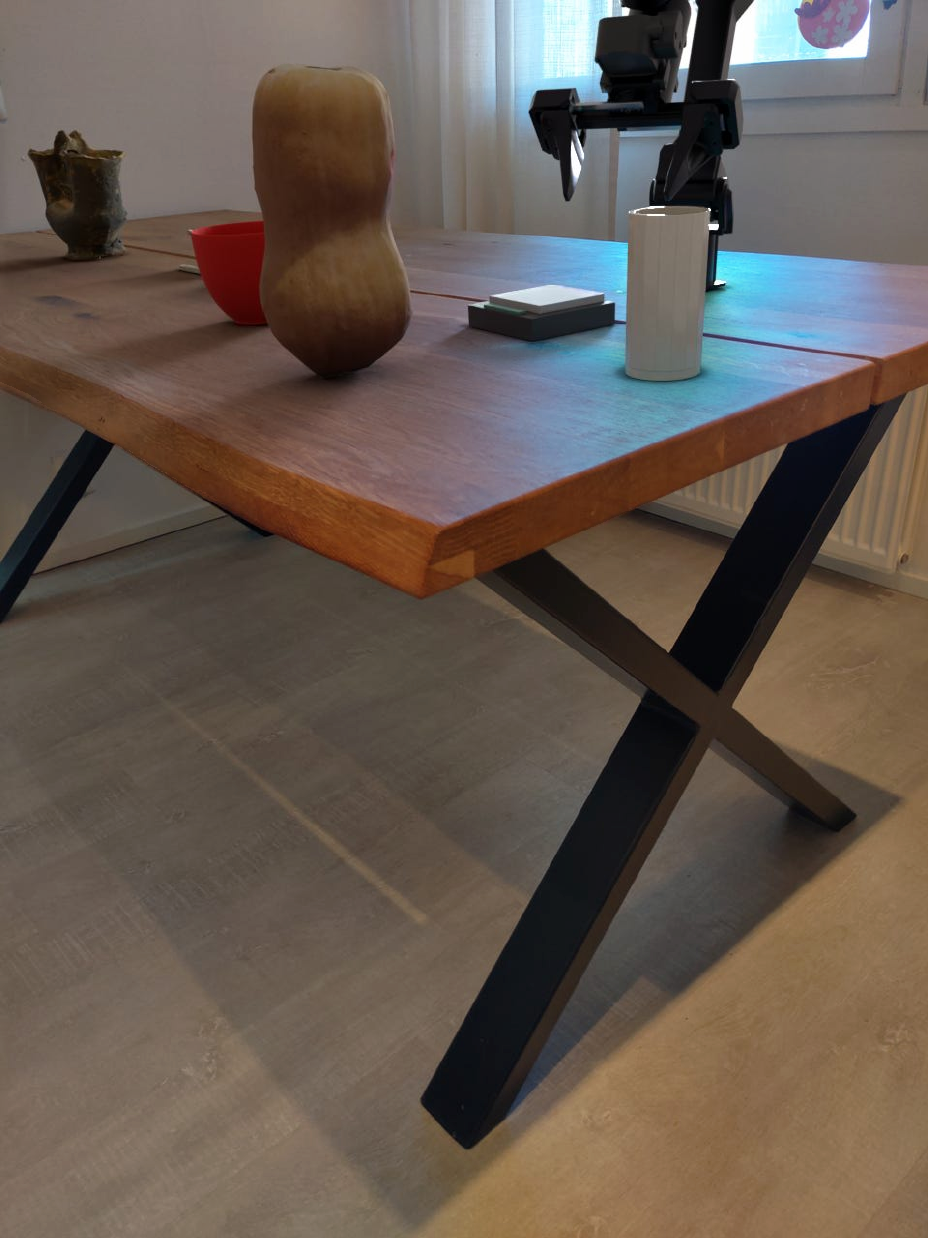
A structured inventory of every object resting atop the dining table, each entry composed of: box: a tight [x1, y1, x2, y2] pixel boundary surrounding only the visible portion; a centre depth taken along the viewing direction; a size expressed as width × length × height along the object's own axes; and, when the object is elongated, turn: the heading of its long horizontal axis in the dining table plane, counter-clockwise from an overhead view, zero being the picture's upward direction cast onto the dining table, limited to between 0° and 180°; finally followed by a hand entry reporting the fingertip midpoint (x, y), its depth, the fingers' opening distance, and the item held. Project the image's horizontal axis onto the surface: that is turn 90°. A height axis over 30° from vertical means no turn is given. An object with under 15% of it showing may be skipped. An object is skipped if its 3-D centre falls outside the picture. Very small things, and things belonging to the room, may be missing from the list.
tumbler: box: [624, 206, 711, 382], centre depth 84 cm, size 6×6×13 cm
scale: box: [467, 284, 616, 342], centre depth 106 cm, size 11×11×3 cm
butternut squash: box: [251, 63, 413, 379], centre depth 87 cm, size 14×13×25 cm
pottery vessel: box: [27, 129, 128, 261], centre depth 170 cm, size 25×11×20 cm, turn 40°
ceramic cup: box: [190, 220, 268, 326], centre depth 116 cm, size 13×17×10 cm
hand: (615, 197), depth 89 cm, fingers open, 9 cm apart
